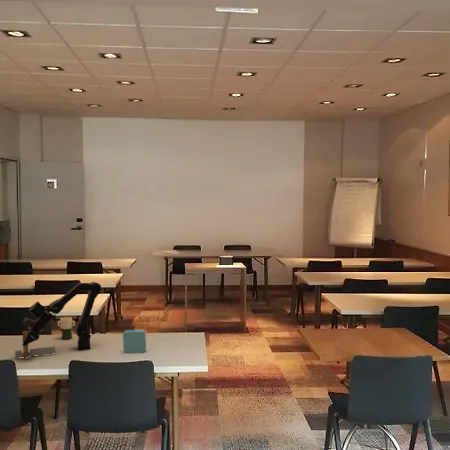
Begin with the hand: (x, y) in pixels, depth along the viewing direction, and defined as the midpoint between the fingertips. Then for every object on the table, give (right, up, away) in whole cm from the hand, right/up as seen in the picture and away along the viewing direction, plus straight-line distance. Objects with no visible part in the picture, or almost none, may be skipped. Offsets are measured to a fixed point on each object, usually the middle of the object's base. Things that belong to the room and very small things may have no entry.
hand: (22, 343), depth 300 cm
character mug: (+13, -6, +39) cm, 42 cm away
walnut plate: (+2, -8, +1) cm, 8 cm away
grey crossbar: (+6, -8, +3) cm, 10 cm away
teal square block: (+61, -6, +7) cm, 62 cm away
